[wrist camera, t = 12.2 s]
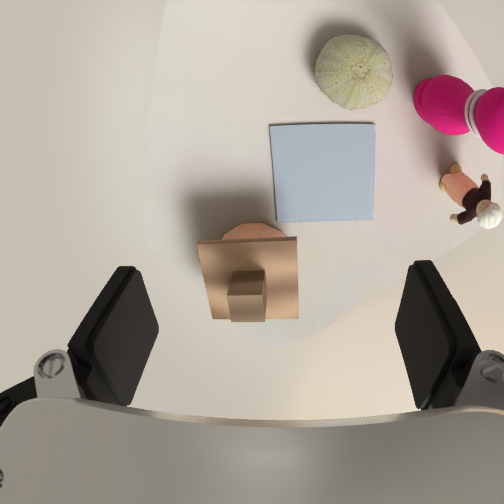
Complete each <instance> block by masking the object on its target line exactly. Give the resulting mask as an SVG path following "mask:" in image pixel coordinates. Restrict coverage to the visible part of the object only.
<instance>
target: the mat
mask: <svg viewBox="0 0 504 504" xmlns="http://www.w3.org/2000/svg"><path fill="white" fill-rule="evenodd" d="M270 136H271V147H272V159H273V172H274V184H275V197H276V211H277V223H290V222H318V221H351V220H372V218H373V200H374V175H375V124H301V125H280V126H270Z"/></svg>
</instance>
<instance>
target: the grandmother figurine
mask: <svg viewBox="0 0 504 504" xmlns="http://www.w3.org/2000/svg"><path fill="white" fill-rule="evenodd" d="M449 172H450V174H445V175H444V176H443V177H442V180H441V181H440V183H439V187H440V189H441V190H442V191H444V192H446V193H447V194H448V195H449V196H450V197H451V198H452V200H453V201H455V202H456V203H457V204H458V205H460V206H461V207H463V208H465V209H466V211H464V212H461V213H460V214H457V215H456V214H452V215H451V216H450V220H451V221H452V222H457V223H459V224H460V225H461V224H464V223H466V222H469V221H471V220H472V219H473V218H475V217H477V216H478V218H477V219H478V223H479V225H480V226H482V228H493V227H495V226H497V225H498V224H499V222H500V221H501V219H502V211H501V208H500V206H499V205H498V204H497V203H492V202H491V201H490V200H491V183H490V181H489V179H488V176H487V175H486V174H482V176H481V180H482V184H481V186H480V188H478V186H477V185H476V184H475V183H474V182H473V181H472V180H471V179H470V178H469V177H468V176H467V175H465V174H464V173H463V172H462V170H461V167H460V166H459V165H458V164H453V165H452V166H451V167H450V170H449Z"/></svg>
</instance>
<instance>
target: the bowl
mask: <svg viewBox="0 0 504 504" xmlns="http://www.w3.org/2000/svg"><path fill="white" fill-rule="evenodd" d="M270 237H285V235H284V234H283V232H282V231H279V230H277V229H275V228H273V227H271V226H269V225H266V224H264V223H245V224H240V225H238V226H236V227H235V228H233V229H232V230H230V231H228V232H227V233H225V234H224V236H223V238H222V239H245V238H270Z"/></svg>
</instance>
